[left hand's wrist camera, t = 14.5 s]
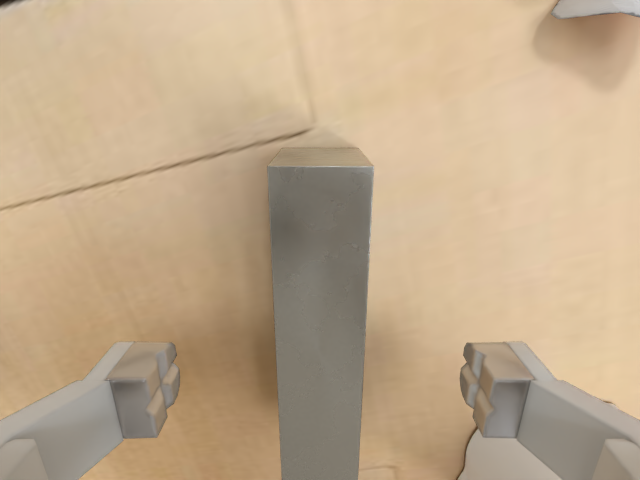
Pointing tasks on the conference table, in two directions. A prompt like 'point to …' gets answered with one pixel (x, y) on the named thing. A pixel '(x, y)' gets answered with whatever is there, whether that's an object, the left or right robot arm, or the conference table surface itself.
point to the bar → (320, 305)
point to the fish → (595, 8)
